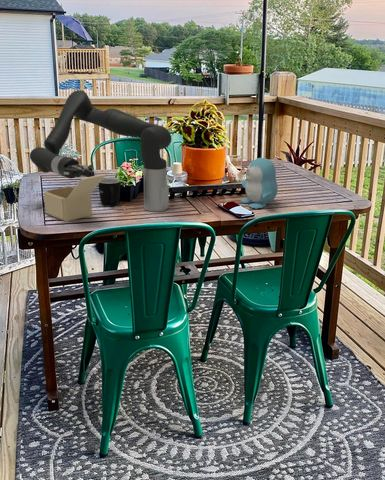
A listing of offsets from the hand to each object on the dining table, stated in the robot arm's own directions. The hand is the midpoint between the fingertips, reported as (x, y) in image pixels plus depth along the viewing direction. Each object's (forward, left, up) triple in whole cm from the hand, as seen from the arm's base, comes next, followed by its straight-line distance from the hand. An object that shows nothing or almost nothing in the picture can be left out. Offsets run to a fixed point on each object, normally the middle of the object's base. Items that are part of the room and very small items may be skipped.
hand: (92, 174), depth 176 cm
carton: (+16, -6, -19) cm, 26 cm away
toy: (-48, -54, -19) cm, 75 cm away
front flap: (+4, -2, -5) cm, 7 cm away
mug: (+8, -24, -19) cm, 32 cm away
